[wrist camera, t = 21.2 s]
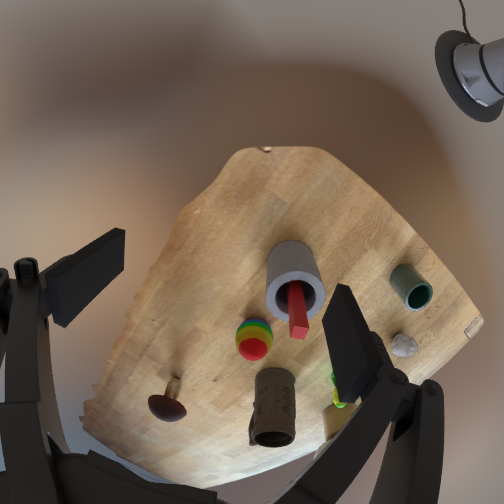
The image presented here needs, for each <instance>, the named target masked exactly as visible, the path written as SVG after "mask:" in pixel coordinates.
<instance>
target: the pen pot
mask: <svg viewBox="0 0 504 504" xmlns="http://www.w3.org/2000/svg"><path fill="white" fill-rule="evenodd" d="M390 283H391V286H392V287H393V289H394V290H395V292H396V293H397V294H398V296H399V297H400V299H401V300H402V301H403V303H404V304H405V306H406V307H407V308H408V309H409V310H411V311H418V310H421V309H422V308H424V307H425V306H426V305H427V304H428V303H429V302H430V300H431V298H432V294H433V290H432V286H431V285H430V284H429V283H428V282H427V281H426V280H425V279H424V278H423V277H422V276H421V275H420V274H419V273H418V272H417V271H416V270H415V269H414V268H413V267H412V266H411V265H409V264H402V265H399V266H398V267H396V268H395V269H394V271H393V272H392V274H391V277H390Z"/></svg>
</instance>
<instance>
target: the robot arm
mask: <svg viewBox="0 0 504 504" xmlns="http://www.w3.org/2000/svg"><path fill="white" fill-rule="evenodd" d="M459 2H460V4H461V7H462V12H463V26H464V29H465V31H466V33H467V35H468V37H469V39H470V42H471V44H470V43H462V44H459V45H457V46H455V47H454V49H453V50H452V53H451V66H452V70H453V73H454V76H455V78H456V80H457V82H458V84H459V86H460V88H461V89H462V90H463V92H464V93H465V94H466V96H467V97H468V98H469V99H470V100H472V101H473V102H474V103H476V104H478V105H481V106H490V105H493V104H495V103H496V102H497V101H498V100H499V99H502V98H503V97H504V38H502V39H499V40H496V41H493V42H490V43H487V44H484V45H479V44H474V42H473V40H472V38H471V36H470V34H469V32H468V30H467V28H466V21H465V9H464V6H463V3H462V1H461V0H459ZM124 248H125V230H123V229H119V228H114V229H112V230H110V231H109V232H107V233H105V234H104V235H102V236H101V237H99V238H97V239H96V240H94V241H93V242H91V243H89V244H88V245H86V246H85V247H83V248H82V249H80V250H79V251H77V252H76V253H74V254H73V255H68V256H65V257H63V258H61V259H60V260H58V261H57V262H55V263H54V264H52V265H51V266H49V267H48V268H46V269H45V270H43V271H42V272H41V273H39V270H38V263H37V260H36V259H34V258H28V257H27V258H22V259H19V260H18V261H16V262H15V264H14V270H15V275H16V279H10V278H9V275H8V271H7V270H6V269H5V268H0V368H1V364H2V361H3V358H4V355H5V352H6V359H5V402H4V403H0V435H1V443H2V450H3V456H4V462H5V467H6V471H1V472H0V504H229V503H227V502H225V501H223V500H221V499H218V498H217V492H214V491H209V490H204V489H199V488H195V487H191V486H187V485H177V484H165V483H154V482H149V481H146V480H144V479H143V478H141V477H139V476H138V475H136V474H135V473H133V472H132V471H130V470H128V469H127V468H126V467H124V466H123V465H121V464H120V463H118V462H116V461H114V460H111V459H109V458H107V457H105V456H103V455H100V454H98V453H96V452H94V451H92V450H89V452H88V455H85V454H79V453H71V452H70V450H69V447H68V445H67V443H66V440H65V437H64V434H63V430H62V425H61V421H60V416H59V412H58V407H57V401H56V395H55V389H54V382H53V375H52V366H51V355H50V341H49V322H48V318H47V317H48V316H49V315H50V314H51V313H52V316H53V320H54V323H56V324H58V325H60V326H62V327H64V328H66V327H67V326H68V324H69V323H70V322H71V321H72V320H73V319H74V318H75V317H76V316H77V315H78V314H79V313H80V312H81V311H82V310H83V309H84V308H85V307H86V306H87V305H88V304H89V303H90V302H91V301H92V300H93V299H94V298H95V297H96V296H97V295H98V294H99V293H100V292H101V291H102V290H103V289H104V288H105V287H106V286H107V285H108V284H109V283H110V282H111V281H112V280H113V279H115V278H116V277H117V276H118V275H119V274H120V273H121V272H122V271H123V270H124ZM322 323H323V328H324V332H325V336H326V341H327V345H328V350H329V354H330V359H331V363H332V368H333V373H334V378H335V383H336V388H337V393H338V398H339V403H355V401H356V400H357V399H358V397H359V396H360V397H361V401H362V402H361V404H360V405H359V406H358V407H357V408H356V410H355V411H354V412H353V413H352V414H351V417H350V418H349V419H348V420H347V422H346V423H345V424H344V425H343V427H342V428H341V429H340V430H339V431H338V433H337V434H336V435H335V436H334V437H333V438H332V440H331V441H330V442H329V443H328V444H327V445H326V446H325V448H324V449H323V450H322V451H321V452H320V453H319V454H318V455H317V456H316V457H315V458H314V459H313V460H312V461H311V463H310V464H309V465H308V466H307V467H306V468H305V469H304V470H303V471H302V472H301V473H300V474H299V475H298V476H296V478H295V479H293V480H292V481H291V482H290V483H289V484H288V485H287V486H286V487H285V488H283V489H282V490H281V491H280V492H279V493H278V494H277V495H276V496H274V497H273V498H272V499H271V500H270V501H268V502H267V503H266V504H335V503H336V501H337V500H338V499H339V498H340V497H341V496H342V494H343V493H344V492H345V490H346V489H347V488H348V487H349V485H350V484H351V483H352V481H353V480H354V478H355V477H356V476H357V474H358V473H359V472H360V470H361V469H362V467H363V466H364V464H365V463H366V461H367V460H368V458H369V457H370V455H371V454H372V452H373V450H374V449H375V447H376V446H377V444H378V442H379V441H380V439H381V437H382V436H383V434H384V432H385V430H386V429H387V427H388V425H389V423H390V421H391V422H392V423H391V428H390V433H389V437H388V442H387V446H386V451H385V454H384V458H383V461H382V465H381V469H380V472H379V475H378V479H377V482H376V485H375V488H374V491H373V494H372V496H371V499H370V502H369V504H437V502H438V497H439V490H440V483H441V475H442V465H443V452H444V394H443V389H442V388H441V386H440V385H439V384H438V383H437V382H435V381H433V380H430V379H427V380H425V381H423V383H422V384H421V385H420V386H419V385H415V384H412V383H409V380H408V377H407V376H406V374H405V373H404V372H402V371H401V370H399V369H397V368H394V366H393V364H392V361H391V359H390V357H389V355H388V352H386V348H385V346H384V344H383V342H382V339H381V338H380V337H379V336H378V334H377V333H376V332H374V331H370V330H369V328H368V326H367V323H366V321H365V319H364V317H363V314H362V312H361V310H360V308H359V306H358V304H357V302H356V299H355V297H354V295H353V293H352V291H351V289H350V287H349V286H347V285H343V284H339V283H338V284H337V286H336V288H335V291H334V293H333V296H332V298H331V300H330V303H329V305H328V307H327V310H326V312H325V314H324V316H323V319H322Z"/></svg>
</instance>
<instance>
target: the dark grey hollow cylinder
mask: <svg viewBox="0 0 504 504" xmlns="http://www.w3.org/2000/svg"><path fill="white" fill-rule="evenodd" d="M294 383H295V378H294V376H293V375H292V374H291V373H290V372H289V371H287V370H284V369H279V368H270V369H266V370H263V371H261V372H260V373H259V374H258V375H257V376H256V378H255V402H253V406H254V412H253V415H252V417H251V420H250V424H249V439H250V441H249V445H250V446H255V445H257V444H258V445H260V446H264V447H271V448H277V447H283V446H287V445H289V444H291V443H292V442H293V441H294V438H295V433H296V432H295V418H296V408H295V387H294Z"/></svg>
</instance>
